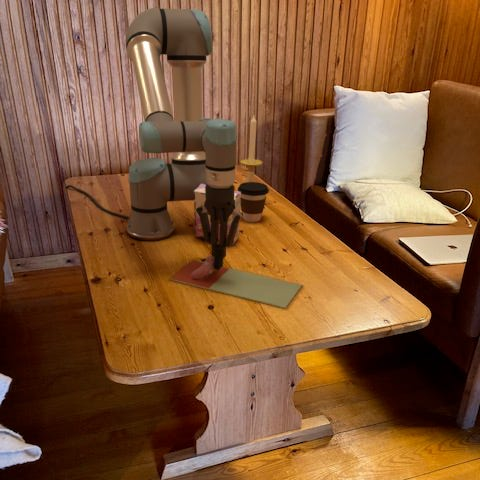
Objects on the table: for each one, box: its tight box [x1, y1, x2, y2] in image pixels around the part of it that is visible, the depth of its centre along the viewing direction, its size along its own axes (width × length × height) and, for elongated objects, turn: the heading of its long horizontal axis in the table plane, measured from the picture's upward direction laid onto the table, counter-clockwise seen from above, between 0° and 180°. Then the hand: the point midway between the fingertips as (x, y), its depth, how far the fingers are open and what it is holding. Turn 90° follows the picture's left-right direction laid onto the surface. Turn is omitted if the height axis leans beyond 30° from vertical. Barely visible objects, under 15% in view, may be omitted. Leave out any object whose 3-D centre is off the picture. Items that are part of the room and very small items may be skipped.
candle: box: [239, 114, 264, 182], centre depth 198 cm, size 10×10×32 cm
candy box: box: [193, 184, 241, 246], centre depth 168 cm, size 14×6×16 cm, turn 69°
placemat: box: [169, 259, 303, 310], centre depth 148 cm, size 34×14×1 cm, turn 67°
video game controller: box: [191, 255, 215, 279], centre depth 150 cm, size 10×5×7 cm, turn 157°
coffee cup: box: [237, 181, 270, 223], centre depth 188 cm, size 11×11×12 cm
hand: (218, 267), depth 148 cm, fingers closed
